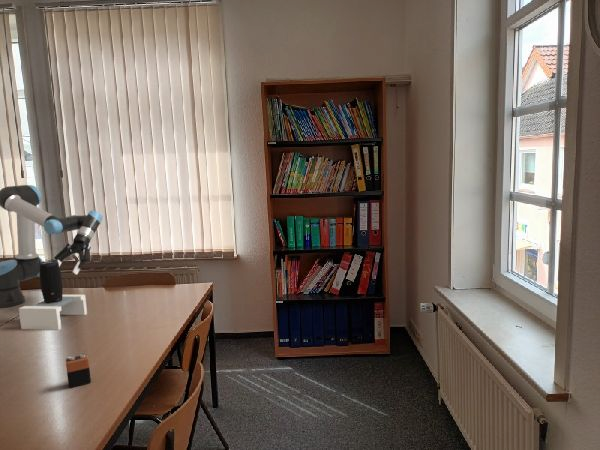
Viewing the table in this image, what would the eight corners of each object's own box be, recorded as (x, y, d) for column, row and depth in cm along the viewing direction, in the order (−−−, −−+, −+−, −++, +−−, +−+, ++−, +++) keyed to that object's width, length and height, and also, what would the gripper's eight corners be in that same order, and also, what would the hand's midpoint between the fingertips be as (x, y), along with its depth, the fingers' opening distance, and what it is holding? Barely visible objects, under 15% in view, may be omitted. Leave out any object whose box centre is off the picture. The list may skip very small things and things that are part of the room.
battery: (68, 383, 159) (65, 356, 158) (89, 378, 163) (86, 351, 161) (69, 388, 156) (65, 360, 154) (91, 383, 159) (88, 355, 158)
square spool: (52, 313, 237) (50, 294, 236) (87, 313, 234) (85, 294, 233) (21, 329, 215) (18, 308, 214) (58, 329, 213) (56, 308, 211)
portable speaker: (59, 303, 220) (54, 262, 217) (39, 304, 219) (34, 264, 216) (67, 297, 228) (62, 258, 225) (47, 299, 227) (42, 260, 225)
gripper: (107, 242, 240) (88, 277, 228) (69, 241, 248) (49, 275, 236) (98, 233, 234) (79, 269, 222) (60, 232, 242) (39, 267, 230)
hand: (63, 272), depth 229 cm, fingers open, 13 cm apart
